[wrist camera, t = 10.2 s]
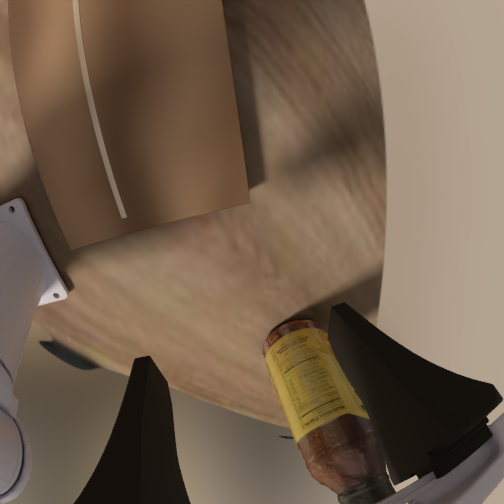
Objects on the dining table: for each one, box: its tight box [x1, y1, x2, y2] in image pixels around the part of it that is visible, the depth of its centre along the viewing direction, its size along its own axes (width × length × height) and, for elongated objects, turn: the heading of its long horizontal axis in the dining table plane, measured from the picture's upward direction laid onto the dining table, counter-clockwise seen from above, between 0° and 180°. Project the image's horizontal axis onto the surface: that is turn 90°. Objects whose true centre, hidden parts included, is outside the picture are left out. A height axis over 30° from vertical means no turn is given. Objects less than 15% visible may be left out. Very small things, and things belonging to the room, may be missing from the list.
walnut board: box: [8, 0, 250, 250], centre depth 10 cm, size 11×22×2 cm, turn 7°
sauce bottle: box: [263, 319, 396, 504], centre depth 19 cm, size 6×6×20 cm
